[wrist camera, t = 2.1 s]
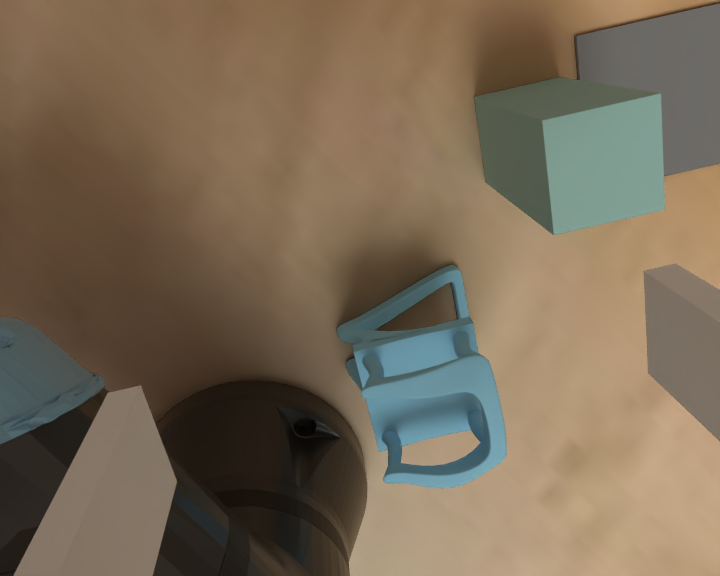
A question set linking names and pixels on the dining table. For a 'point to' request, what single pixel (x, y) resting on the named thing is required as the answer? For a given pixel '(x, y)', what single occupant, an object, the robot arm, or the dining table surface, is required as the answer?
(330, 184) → the dining table surface
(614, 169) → the teal block
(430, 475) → the chair
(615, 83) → the slate mat
